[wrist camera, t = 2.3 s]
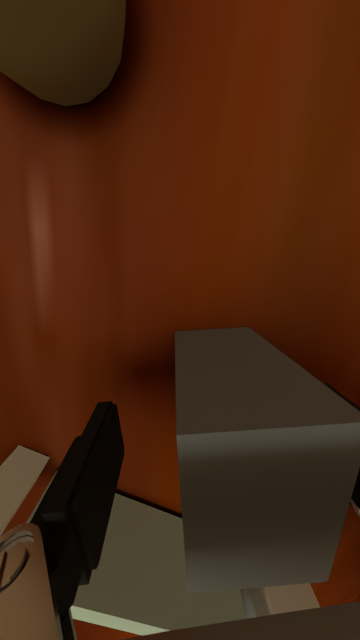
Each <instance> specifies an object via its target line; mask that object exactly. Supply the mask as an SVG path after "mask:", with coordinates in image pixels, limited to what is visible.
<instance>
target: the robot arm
mask: <svg viewBox="0 0 360 640" xmlns="http://www.w3.org/2000/svg"><path fill="white" fill-rule="evenodd" d="M323 384H324V385H326V386H327V387H328V388H329V389H331V390H332V391H333V392H335V393H336V394H337V395H339V396H340V397H341V398H343V399H344V400H345V401H346V402H348V403H349V404H350V405H352V406H353V407H354V408H356V409H357V410H358V411H360V408H359V407H358V406H356V405H355V404H354V403H352V402H351V401H350V400H348V399H347V398H346V397H344V396H343V395H342V394H340V393H339V392H338V391H336V390H335V389H333V388H332V387H331V386H329V385H328V384H326V383H323ZM123 457H124V444H123V438H122V433H121V427H120V422H119V416H118V411H117V406H116V404H113V403H112V402H111V401H109V402H99V403H98V404H97V406H96V408H95V410H94V412H93V414H92V416H91V418H90V420H89V422H88V424H87V426H86V428H85V429H84V431H83V433H82V435H81V436H78V437H76V438H75V440H74V441H73V443H72V445H71V446H70V448H69V450H68V452H67V454H66V456H65V458H64V460H63V461H62V463H61V465H60V467H59V469H58V471H57V473H56V474H55V476H54V478H53V480H52V482H51V484H50V486H49V488H48V489H47V491H46V493H45V495H44V497H43V499H42V501H41V502H40V504H39V506H38V508H37V510H36V512H35V514H34V515H33V517H32V519H31V521H30V523H25V524H22V525H19V526H16V527H15V528H13V529H11V530H10V531H8V532H7V533H5V534H4V535H3V536H2V537H1V538H0V640H77V637H76V632H75V627H74V623H73V618H72V614H71V609H70V607H71V606H72V605H73V604H74V600H75V597H76V593H77V590H78V586H80V585H88V584H89V582H90V578H91V574H92V570H94V569H97V567H98V565H99V561H100V557H101V553H102V549H103V544H104V540H105V536H106V531H107V527H108V523H109V518H110V514H111V509H112V505H113V501H114V496H115V492H116V488H117V483H118V479H119V475H120V470H121V466H122V461H123ZM351 504H352V507H353V509H354V511H355V512H356V514H357V515H358V516H359V517H360V469H359V472H358V476H357V479H356V483H355V486H354V490H353V493H352V497H351ZM122 640H360V602H353V603H346V604H340V605H333V606H326V607H319V608H313V609H306V610H300V611H293V612H286V613H280V614H273V615H266V616H260V617H253V618H247V619H241V620H234V621H228V622H222V623H215V624H209V625H203V626H196V627H190V628H184V629H177V630H171V631H165V632H160V633H154V634H149V635H143V636H138V637H133V638H127V639H122Z"/></svg>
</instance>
